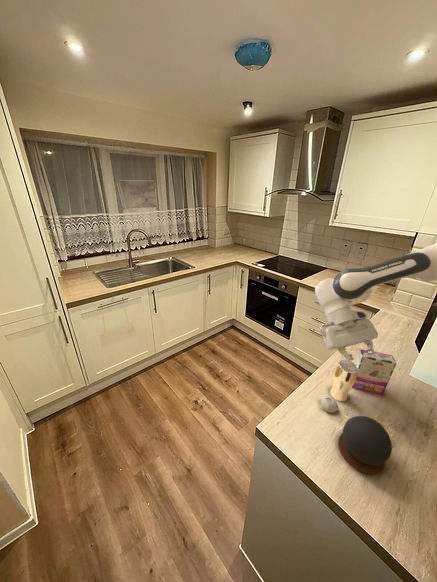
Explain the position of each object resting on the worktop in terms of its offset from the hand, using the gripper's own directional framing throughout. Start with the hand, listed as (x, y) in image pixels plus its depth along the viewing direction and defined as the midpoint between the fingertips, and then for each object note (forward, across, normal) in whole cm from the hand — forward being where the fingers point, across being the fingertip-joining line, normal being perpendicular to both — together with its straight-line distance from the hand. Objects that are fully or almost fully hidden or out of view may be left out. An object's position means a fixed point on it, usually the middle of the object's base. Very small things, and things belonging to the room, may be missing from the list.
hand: (361, 357), depth 79 cm
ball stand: (+25, -12, +6) cm, 29 cm away
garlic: (+13, -10, +16) cm, 23 cm away
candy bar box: (+10, +11, +18) cm, 24 cm away
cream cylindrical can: (+10, -2, +18) cm, 21 cm away
